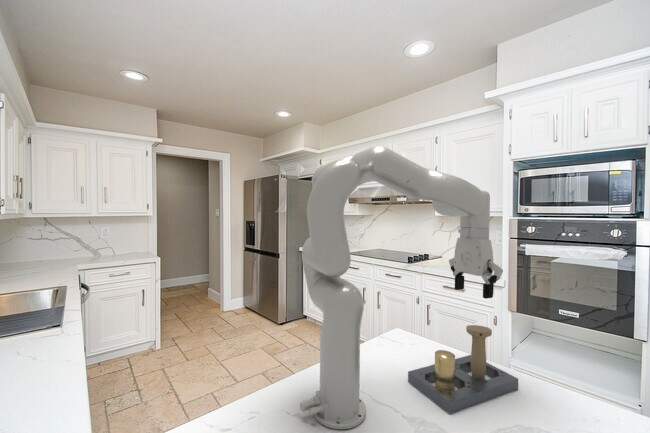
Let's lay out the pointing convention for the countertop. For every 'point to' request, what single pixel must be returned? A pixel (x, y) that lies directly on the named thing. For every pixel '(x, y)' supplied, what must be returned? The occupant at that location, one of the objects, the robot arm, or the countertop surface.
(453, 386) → the brass pin
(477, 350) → the handle
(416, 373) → the bolt plate
